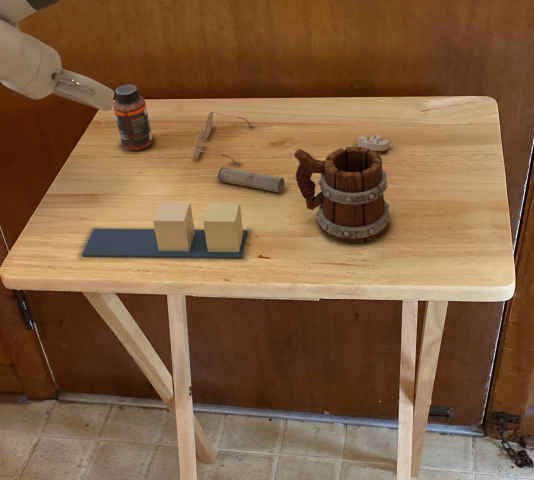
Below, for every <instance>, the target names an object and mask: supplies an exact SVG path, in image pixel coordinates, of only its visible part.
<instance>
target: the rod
mask: <svg viewBox="0 0 534 480" xmlns="http://www.w3.org/2000/svg"><path fill="white" fill-rule="evenodd" d="M217 179H218V181H219V182H222V183H226V184H231V185H237V186H241V187H247V188H253V189H257V190H263V191H267V192H273V193H278V194H281V193H283V192H284V190H285V185H286V184H285V183H286V182H285V178H284V177H282V176H276V175H270V174H265V173H259V172H254V171H249V170H242V169H237V168H232V167H227V166H221V168H220V169H219V171H218V173H217Z"/></svg>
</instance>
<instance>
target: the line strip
mask: <svg viewBox="0 0 534 480" xmlns="http://www.w3.org/2000/svg"><path fill="white" fill-rule="evenodd" d="M248 232H249V231H248V229H243V237H242V242H241V246H240V250H239V252H208V249H207V242H206V236H205V230H204V229H195V235H194V238H193V242H192V245H191V248H190V251H189V252H178V251H159V248H158V243H157V239H156V234H155V229H154V228H93V229H92V232H91V234H90V236H89V238H88V240H87V243H86V245H85V247H84V249H83V252H82V253H81V256H82V257H92V258H93V257H95V258H96V257H97V258H98V257H99V258H101V257H103V258H162V259H163V258H164V259H165V258H166V259H167V258H169V259H179V258H181V259H237V260H238V259H240V260H241V259H243V256H244V250H245V245H246V243H247V242H246V241H247V238H248Z"/></svg>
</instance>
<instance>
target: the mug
mask: <svg viewBox="0 0 534 480" xmlns="http://www.w3.org/2000/svg"><path fill="white" fill-rule="evenodd" d="M293 156H294V157H295V159H297V160H298V162H299V164H298V166H297V169H296V173H295V181H296V183H297V184H296V185H297V187H298V189H299V191H300V193H301V196H302V197H303V199H305V205H306V209H307V210H310V211H313V210H315V209H316V208H318V210H317V211H316V212H315V215H316V216H317V222H318V223H319V225H320V227H321V229H322V231H323V233H324V234H325V235H327V237H329V238H331V239H332V238H333V240H335V241H339V242H341V243H348V244H349V243H350V244H357V243H363V242H364V240H365V241H366V242H368V241H371V240H374V239H376V238H377V237H379V236H380V235H381V234H383V233H384V231H385V230H386V227H387V225H388V223H389V222H390V209H389V208H390V204H389V203H388V202H387V201H386V199H385V195H384V193H385V192H386V190H387V189H388V187H389V185H388V181H387V172H386V171H385V170H384V169H383V158H382V157H381V155H380V154H379V152H377V151H374V150H370V149H368V148H364V147H358V146H346V147H345V149H344V148H343V147H341V148H339V149H335V150H334V151H333V152H331V153H329V154H328V155H327V157H326V158H325V160H320V159H316V158H314V157H313V156H312V155H311V153H309V152H307V151H305V150H304V149H302V148H301V149H300V148H298V149H296V150H295V152H294V154H293ZM313 174H320V179H318V181H317V185H319V190H320V191H319V192H318V193H317V194H316V183H315V181H313V179H311V178H312V176H313Z"/></svg>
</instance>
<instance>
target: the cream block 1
mask: <svg viewBox="0 0 534 480" xmlns="http://www.w3.org/2000/svg"><path fill="white" fill-rule="evenodd" d="M152 223H153V229H155V234H156V239H157V243H158V248H159V251H178V252H189V251H190V248H191V245H192V242H193V238H194V235H195V230H196V229H195V223H194V218H193V211H192V206H191V202H178V201H177V202H176V201H175V202H174V201H173V202H171V201H170V202H165V201H163V202H161V201H160V202H158V205H157V208H156V211H155V213H154V217H153V218H152Z"/></svg>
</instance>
